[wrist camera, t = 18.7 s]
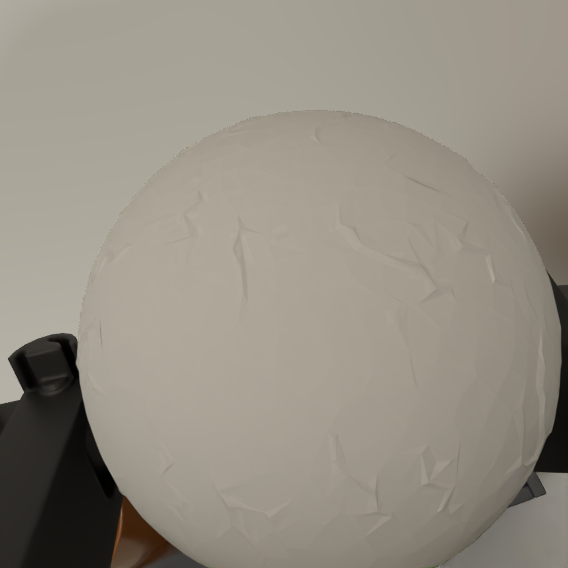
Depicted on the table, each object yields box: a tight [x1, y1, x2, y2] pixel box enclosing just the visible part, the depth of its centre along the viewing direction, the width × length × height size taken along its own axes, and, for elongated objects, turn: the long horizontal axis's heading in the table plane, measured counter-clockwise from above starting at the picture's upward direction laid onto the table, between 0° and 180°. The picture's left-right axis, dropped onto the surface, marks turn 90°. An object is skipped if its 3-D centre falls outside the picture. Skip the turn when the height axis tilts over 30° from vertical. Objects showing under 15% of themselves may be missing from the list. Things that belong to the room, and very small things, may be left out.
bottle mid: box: [111, 496, 182, 568], centre depth 21 cm, size 6×6×17 cm
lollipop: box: [76, 110, 562, 568], centre depth 11 cm, size 7×7×15 cm
